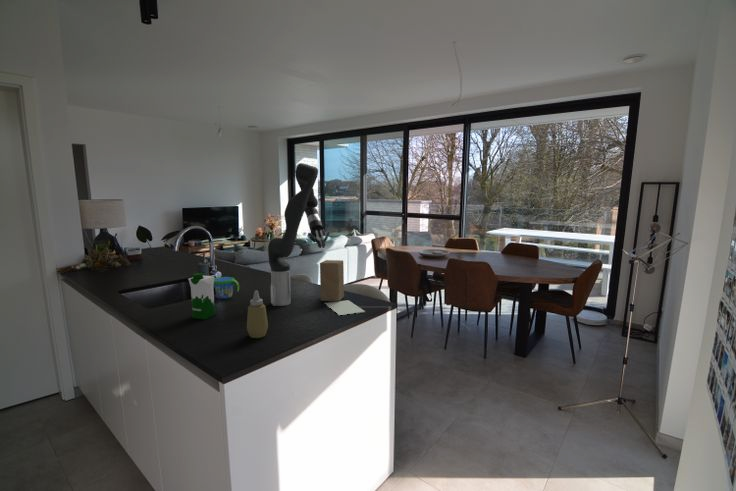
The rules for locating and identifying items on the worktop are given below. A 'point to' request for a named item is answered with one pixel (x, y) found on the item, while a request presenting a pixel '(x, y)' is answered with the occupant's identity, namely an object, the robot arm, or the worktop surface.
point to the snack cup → (224, 287)
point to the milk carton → (202, 296)
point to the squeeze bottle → (257, 317)
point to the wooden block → (332, 280)
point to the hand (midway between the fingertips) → (322, 247)
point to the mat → (344, 307)
